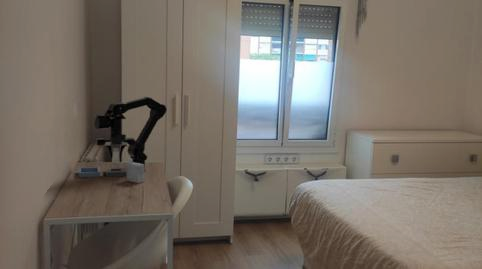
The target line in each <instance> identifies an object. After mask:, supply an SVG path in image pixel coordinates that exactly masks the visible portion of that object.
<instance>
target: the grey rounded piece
mask: <svg viewBox="0 0 482 269" xmlns="http://www.w3.org/2000/svg"><path fill="white" fill-rule="evenodd" d="M111 149H112V158H111V165H116V166H117V165H120V163H121V162H120V158H119V152H120V147H111Z"/></svg>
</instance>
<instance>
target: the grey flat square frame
mask: <svg viewBox="0 0 482 269" xmlns="http://www.w3.org/2000/svg"><path fill="white" fill-rule="evenodd" d="M105 171H106V172H105ZM105 171H104V172H105V177H121V176H124V177H127V167H105Z"/></svg>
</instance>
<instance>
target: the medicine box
mask: <svg viewBox="0 0 482 269" xmlns="http://www.w3.org/2000/svg"><path fill="white" fill-rule="evenodd" d="M126 171H127V176H126V181H127V182H132V183H137V184H139V183H144V182H145V171H144V164H140V163H134V162H132V161H131V162H128V163H126Z"/></svg>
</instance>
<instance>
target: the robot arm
mask: <svg viewBox="0 0 482 269" xmlns="http://www.w3.org/2000/svg"><path fill="white" fill-rule="evenodd" d="M144 106H146V107H147V108H148V109H150V110H149V117H148V119H147V121H146V122H145V124H144V126H143V128H142V130H141V131H140V133H139V135H138V137H137V138H136V140H135V138H134V137H127V136H126V134H123V132H122V130H123V127H122V126H123V122H122V121H123V120H126V116H124V114H125V113H127V112H128V111H130V110H134V109H137V108H141V107H144ZM167 110H168V109H167V106H166V105H165V104H162V103H160V102H158V101H156V100H155V99H153V98H152V97H149V96H144V97H141V98H137V99H134V100H130V101H126V102H112V103H110V104H109V105H108V109H107V110H106V111H105V113H104V115H100V114H97V115H96V116H95V119H94V128H95V129H96V130H101V129H102V130H103V129H106V130H107V129H109V139H105V137H104V138H103V137H99V138H96V146H104V147H106V148H107V149H108V152H109V154H110V158H111V159H112V145H119V148H120V151H119V159H121V157H122V154H123V151H124V149H125V147H127V153H128V155H129V157H130V159H131V160H132V161H131V162H134V163H140V164H144V172H146V168H145V167H146V161H147V159H148V156H147V154H145V148H146V147H145V146H146V142H147V141H148V139H149V137H150V135H151V133H152V132H153V130H154V128H155V126H156V125H157V123H158V122H159V120H161V119H162V118H163V117H164V116H165V114H166V112H167Z"/></svg>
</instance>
